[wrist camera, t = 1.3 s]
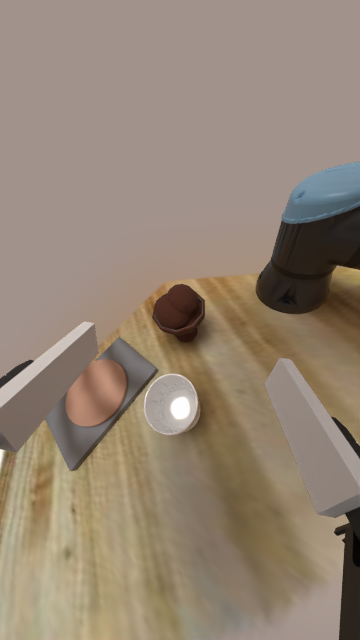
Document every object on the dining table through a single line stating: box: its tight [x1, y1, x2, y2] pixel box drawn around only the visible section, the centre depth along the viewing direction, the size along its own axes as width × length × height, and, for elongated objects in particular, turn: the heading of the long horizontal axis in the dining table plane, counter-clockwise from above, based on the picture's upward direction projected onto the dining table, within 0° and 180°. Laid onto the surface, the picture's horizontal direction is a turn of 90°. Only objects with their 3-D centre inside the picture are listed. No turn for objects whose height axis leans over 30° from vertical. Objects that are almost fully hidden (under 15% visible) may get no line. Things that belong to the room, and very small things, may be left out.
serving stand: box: [45, 337, 158, 471], centre depth 35 cm, size 22×14×3 cm, turn 140°
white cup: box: [144, 374, 201, 435], centre depth 27 cm, size 8×8×10 cm
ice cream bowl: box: [152, 284, 205, 342], centre depth 35 cm, size 11×11×15 cm
